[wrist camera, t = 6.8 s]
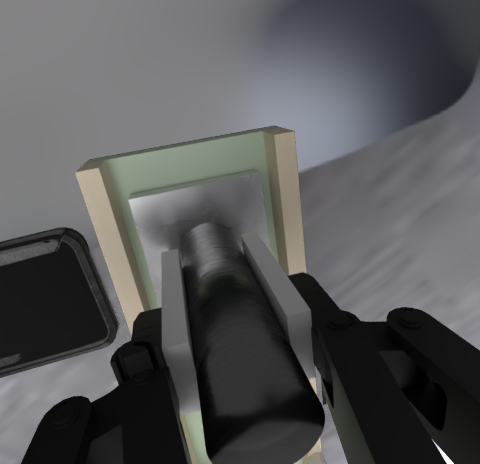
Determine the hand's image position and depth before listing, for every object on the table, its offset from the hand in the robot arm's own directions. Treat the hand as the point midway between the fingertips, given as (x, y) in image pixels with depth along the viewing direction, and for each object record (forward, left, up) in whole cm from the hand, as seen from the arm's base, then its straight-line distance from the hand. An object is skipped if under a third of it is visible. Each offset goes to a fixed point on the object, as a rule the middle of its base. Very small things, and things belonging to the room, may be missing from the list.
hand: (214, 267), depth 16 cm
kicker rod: (+1, 0, -3) cm, 3 cm away
